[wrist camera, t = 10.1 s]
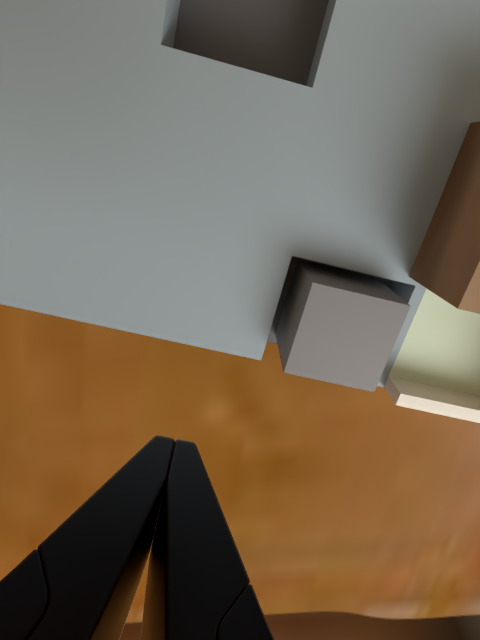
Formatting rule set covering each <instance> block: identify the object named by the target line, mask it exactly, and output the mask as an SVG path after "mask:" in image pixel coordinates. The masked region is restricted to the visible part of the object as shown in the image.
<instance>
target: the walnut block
mask: <svg viewBox="0 0 480 640" xmlns="http://www.w3.org/2000/svg"><path fill="white" fill-rule="evenodd" d="M409 277H410V278H411V279H413V280H414V281H416V282H418V283H419V284H421V285H422V286H424V287H425V288H427V289H428V290H430V291H431V292H433V293H434V294H436V295H437V296H439V297H440V298H442V299H443V300H445V301H446V302H448V303H450V304H451V305H453V306H454V307H456V308H457V309H461V310H465V311H469V312H474V313H478V314H480V121H478V122H473V123H470V125H469V128H468V130H467V133H466V135H465V138H464V140H463V143H462V145H461V148H460V150H459V153H458V155H457V158H456V160H455V163H454V165H453V167H452V170H451V172H450V175H449V177H448V180H447V182H446V185H445V187H444V190H443V192H442V195H441V197H440V200H439V202H438V205H437V207H436V210H435V212H434V215H433V217H432V220H431V222H430V225H429V227H428V230H427V232H426V235H425V237H424V240H423V242H422V245H421V247H420V250H419V252H418V255H417V257H416V260H415V262H414V265H413V267H412V270H411V272H410V275H409Z"/></svg>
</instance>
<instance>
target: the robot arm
mask: <svg viewBox="0 0 480 640" xmlns="http://www.w3.org/2000/svg"><path fill="white" fill-rule="evenodd" d="M174 444H175V445H174ZM173 448H174V449H173ZM171 457H172V458H171ZM170 461H171V462H170ZM168 470H169V471H168ZM163 492H164V493H163ZM161 501H162V502H161ZM160 505H161V506H160ZM159 510H160V511H159ZM158 514H159V515H158ZM157 519H158V520H157ZM156 523H157V524H156ZM155 527H156V528H155ZM154 532H155V533H154ZM153 536H154V537H153ZM152 540H153V542H152ZM151 544H152V547H151ZM150 548H151V552H150ZM149 552H150V559H149V567H148V576H147V585H146V594H145V603H144V613H143V622H142V631H141V640H274V637H273V635H272V633H271V630H270V628H269V626H268V623H267V621H266V619H265V616H264V614H263V612H262V609H261V607H260V605H259V602H258V599H257V597H256V594H255V592H254V589H253V587H252V585H249V584H250V580H249V577H248V575H247V572H246V570H245V567H244V565H243V562H242V560H241V557H240V555H239V552H238V550H237V547H236V545H235V542H234V540H233V537H232V534H231V532H230V529H229V527H228V524H227V522H226V519H225V517H224V514H223V512H222V509H221V507H220V504H219V502H218V499H217V497H216V494H215V492H214V489H213V487H212V484H211V482H210V479H209V477H208V474H207V472H206V469H205V467H204V464H203V462H202V459H201V456H200V454H199V451H198V449H197V446H196V444H195V443H193V442H189V441H184V440H176V441H174V439H173V438H168V437H163V436H155V437H154V438H153V439H152V440H150V441H149V442H148V443H147V444H146V445H145V446H144V447H143V448H142V449H141V450H140V451H139V452H138V453H137V454H136V455H135V456H133V457H132V458H131V459H130V460H129V461H128V462H127V463H126V464H125V465H124V466H123V467H122V468H121V469H120V470H119V471H118V472H117V473H115V474H114V475H113V476H112V477H111V478H110V479H109V480H108V481H107V482H106V483H105V484H104V485H103V486H102V487H101V488H100V489H98V490H97V491H96V492H95V493H94V494H93V495H92V496H91V497H90V498H89V499H88V500H87V501H86V502H85V503H84V504H83V505H82V506H80V507H79V508H78V509H77V510H76V511H75V512H74V513H73V514H72V515H71V516H70V517H69V518H68V519H67V520H66V521H65V522H63V523H62V524H61V525H60V526H59V527H58V528H57V529H56V530H55V531H54V532H53V533H52V534H51V535H50V536H49V537H48V538H47V539H45V540H44V541H43V542H42V543H41V544H40V545H39V546H38V550H33V551H32V552H31V553H30V554H29V555H28V556H27V557H26V558H25V559H24V560H23V561H22V562H21V563H20V564H19V565H18V566H17V567H16V568H14V569H13V570H12V571H11V572H10V573H9V574H8V575H7V576H5V577H4V578H3V579H2V580H1V581H0V640H119V639H120V636H121V633H122V630H123V627H124V624H125V622H126V619H127V616H128V613H129V610H130V607H131V605H132V602H133V599H134V596H135V593H136V590H137V587H138V585H139V582H140V579H141V576H142V573H143V570H144V568H145V565H146V561H147V558H148V555H149Z"/></svg>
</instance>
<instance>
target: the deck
mask: <svg viewBox="0 0 480 640" xmlns="http://www.w3.org/2000/svg"><path fill="white" fill-rule="evenodd" d="M478 121H480V0H0V304H3V305H8V306H12V307H17V308H21V309H26V310H31V311H35V312H40V313H44V314H49V315H54V316H58V317H63V318H67V319H72V320H77V321H81V322H86V323H91V324H95V325H100V326H104V327H109V328H114V329H118V330H123V331H127V332H132V333H137V334H141V335H146V336H150V337H155V338H160V339H164V340H169V341H174V342H178V343H183V344H187V345H192V346H197V347H201V348H206V349H210V350H215V351H220V352H224V353H229V354H234V355H238V356H243V357H247V358H252V359H257V360H261V359H262V356H263V352H264V349H265V346H266V342H271V343H275V344H277V339H276V335H275V334H276V331H277V327H278V324H279V321H280V317H281V314H282V311H283V307H284V304H285V301H286V298H287V294H288V291H289V288H290V284H291V281H292V278H293V274H294V271H295V268H296V264H297V261H298V259H299V260H304V261H308V262H312V263H316V264H320V265H324V266H328V267H332V268H337V269H341V270H345V271H349V272H353V273H357V274H361V275H365V276H369V277H374V278H377V279H379V280H380V281H381V282H382V283H384V284H385V285H386V286H387V287H388V288H390V289H391V290H392V291H393V292H395V293H396V294H397V295H398V296H399V297H401V298H402V299H403V300H404V301H406V302H407V303H408V304H409V305H410V306H411V307H410V309H409V312H408V314H407V316H406V319H405V321H404V323H403V326H402V328H401V330H400V333H399V335H398V337H397V340H396V342H395V344H394V347H393V349H392V352H391V354H390V356H389V359H388V361H387V363H386V366H385V368H384V370H383V373H382V375H381V377H380V380H379V382H378V384H377V386H381V387H384V388H385V390H386V391H387V393H388V394H389V396H390V397H391V399H392V400H393V402H394V403H395V405H398V406H402V407H407V408H412V409H416V410H421V411H426V412H431V413H435V414H440V415H445V416H449V417H454V418H459V419H463V420H468V421H473V422H477V423H480V314H478V313H474V312H469V311H465V310H461V309H457V308H456V307H454V306H453V305H451V304H450V303H448V302H446V301H445V300H443V299H442V298H440V297H439V296H437V295H436V294H434V293H433V292H431V291H430V290H428V289H427V288H425V287H424V286H422V285H421V284H419V283H418V282H416V281H414V280H413V279H411V278H410V277H409V275H410V272H411V270H412V267H413V265H414V262H415V260H416V257H417V255H418V252H419V250H420V247H421V245H422V242H423V240H424V237H425V235H426V232H427V230H428V227H429V225H430V222H431V220H432V217H433V215H434V212H435V210H436V207H437V205H438V202H439V200H440V197H441V195H442V192H443V190H444V187H445V185H446V182H447V180H448V177H449V175H450V172H451V170H452V167H453V165H454V163H455V160H456V158H457V155H458V153H459V150H460V148H461V145H462V143H463V140H464V138H465V135H466V133H467V130H468V128H469V125H470V123H473V122H478Z"/></svg>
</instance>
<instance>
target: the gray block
mask: <svg viewBox="0 0 480 640" xmlns="http://www.w3.org/2000/svg"><path fill="white" fill-rule="evenodd" d="M410 307H411V306H410V305H409V304H408V303H407V302H406V301H404V300H403V299H402V298H401V297H399V296H398V295H397V294H396V293H395V292H393V291H392V290H391V289H390V288H388V287H387V286H386V285H385V284H384V283H382V282H381V281H380V280H379V279H377V278H374V277H369V276H365V275H361V274H357V273H353V272H349V271H345V270H341V269H337V268H332V267H328V266H324V265H320V264H316V263H312V262H308V261H304V260H299V259H298V261H297V264H296V268H295V271H294V274H293V278H292V281H291V284H290V288H289V291H288V294H287V298H286V301H285V304H284V307H283V311H282V314H281V317H280V321H279V324H278V327H277V331H276V334H275V335H276V339H277V344H278V348H279V353H280V358H281V362H282V367H283V371H284V373H288V374H292V375H297V376H302V377H306V378H311V379H316V380H320V381H325V382H330V383H334V384H339V385H343V386H348V387H353V388H357V389H362V390H367V391H371V392H375V389H376V387H377V384H378V382H379V380H380V377H381V375H382V373H383V370H384V368H385V366H386V363H387V361H388V359H389V356H390V354H391V352H392V349H393V347H394V344H395V342H396V340H397V337H398V335H399V333H400V330H401V328H402V326H403V323H404V321H405V319H406V316H407V314H408V312H409V309H410Z"/></svg>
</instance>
